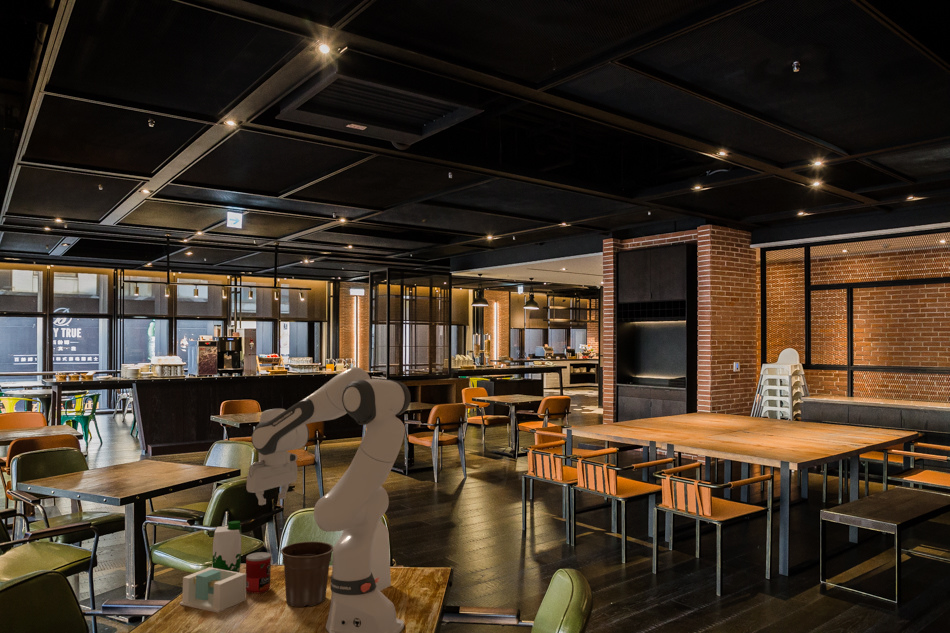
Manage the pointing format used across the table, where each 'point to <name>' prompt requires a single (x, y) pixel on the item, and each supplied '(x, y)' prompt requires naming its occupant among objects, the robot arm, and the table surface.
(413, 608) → the table surface
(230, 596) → the shelf
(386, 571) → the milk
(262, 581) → the canned food
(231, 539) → the milk carton
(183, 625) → the table surface
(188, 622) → the table surface
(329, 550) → the plant pot
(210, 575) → the green slotted block
